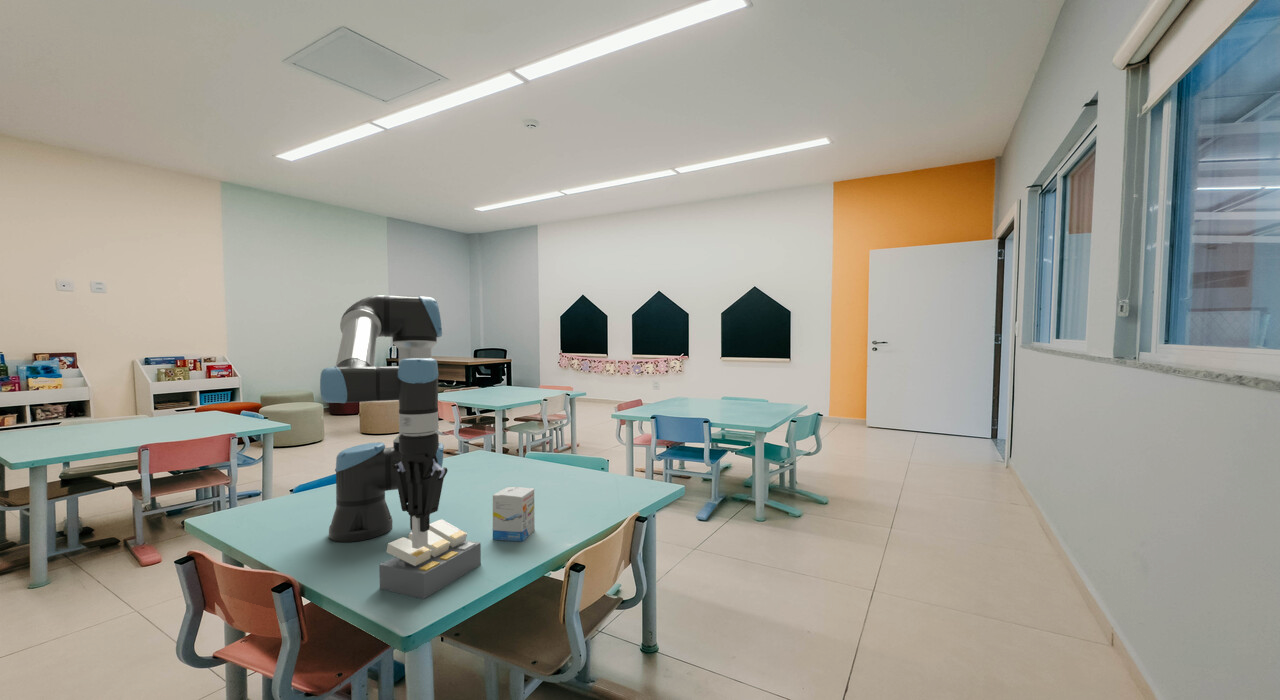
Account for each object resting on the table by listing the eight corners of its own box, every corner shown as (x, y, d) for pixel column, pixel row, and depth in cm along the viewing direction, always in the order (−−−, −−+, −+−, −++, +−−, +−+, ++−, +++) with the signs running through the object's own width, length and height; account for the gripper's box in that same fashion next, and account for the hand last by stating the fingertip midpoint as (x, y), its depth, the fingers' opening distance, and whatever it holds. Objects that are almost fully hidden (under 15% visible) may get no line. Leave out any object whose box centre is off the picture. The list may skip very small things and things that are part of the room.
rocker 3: (426, 532, 116) (428, 523, 116) (439, 526, 120) (441, 518, 120) (453, 547, 114) (455, 539, 113) (465, 541, 117) (467, 533, 117)
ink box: (522, 542, 130) (521, 496, 130) (491, 539, 132) (491, 494, 132) (535, 530, 139) (535, 487, 139) (506, 528, 140) (506, 485, 140)
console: (379, 588, 106) (379, 559, 106) (440, 556, 121) (439, 531, 121) (424, 598, 101) (423, 568, 101) (480, 564, 117) (480, 538, 117)
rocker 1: (386, 552, 106) (387, 542, 106) (401, 545, 110) (403, 536, 110) (415, 566, 103) (416, 556, 103) (430, 558, 107) (431, 549, 107)
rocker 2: (407, 540, 111) (409, 532, 111) (421, 534, 115) (423, 526, 115) (434, 557, 108) (436, 548, 108) (448, 550, 112) (450, 541, 112)
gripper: (380, 433, 104) (381, 548, 105) (429, 438, 99) (430, 558, 100) (409, 427, 111) (410, 535, 112) (456, 431, 106) (457, 543, 107)
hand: (420, 545), depth 106 cm, fingers closed
